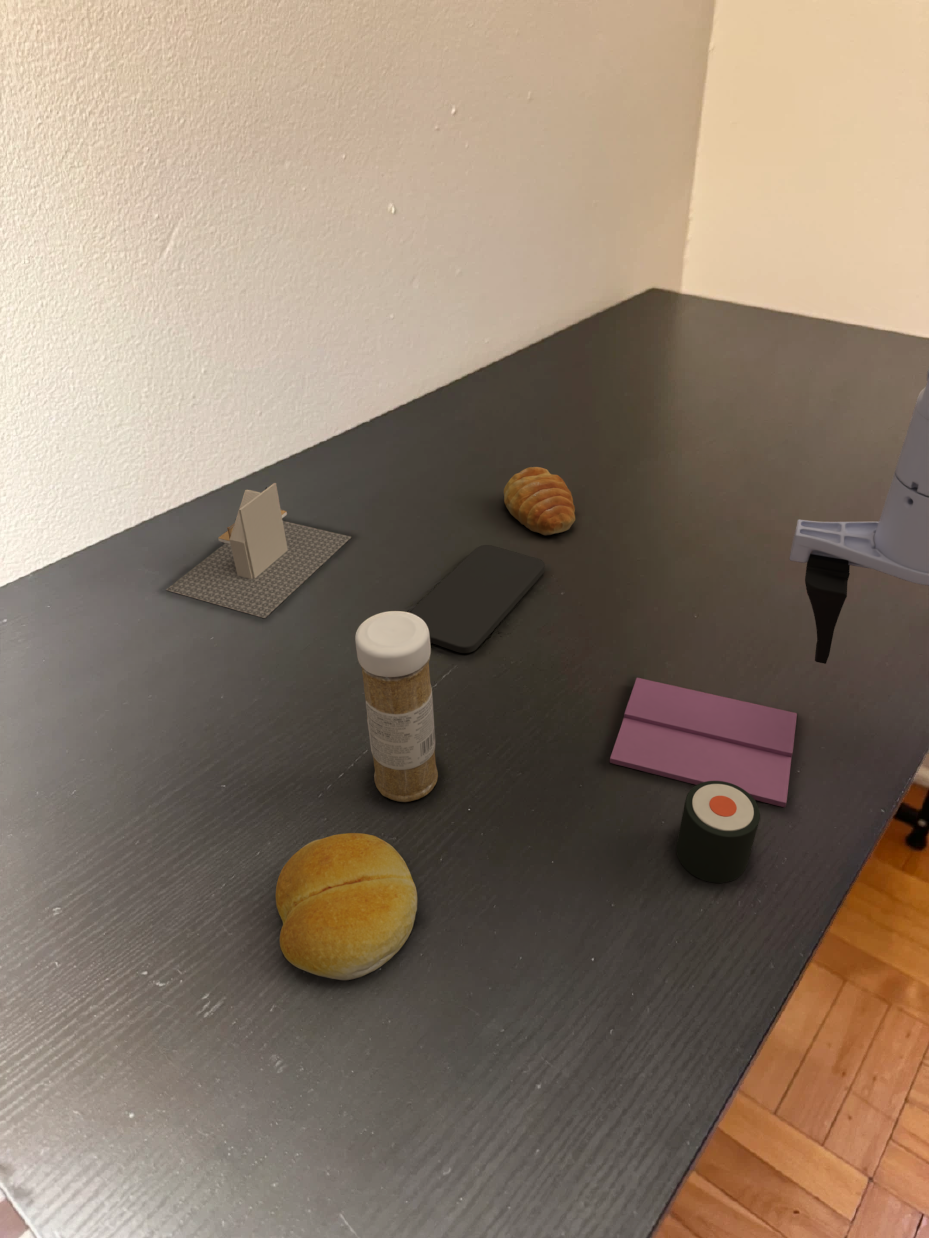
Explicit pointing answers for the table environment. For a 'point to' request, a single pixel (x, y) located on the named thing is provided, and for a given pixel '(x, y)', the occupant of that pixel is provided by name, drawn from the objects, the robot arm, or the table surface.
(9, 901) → the table surface
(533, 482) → the pastry
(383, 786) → the spice jar
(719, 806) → the sushi roll
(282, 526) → the architectural model
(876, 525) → the robot arm
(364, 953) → the bread roll
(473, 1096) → the table surface
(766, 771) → the napkin
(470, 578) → the phone
